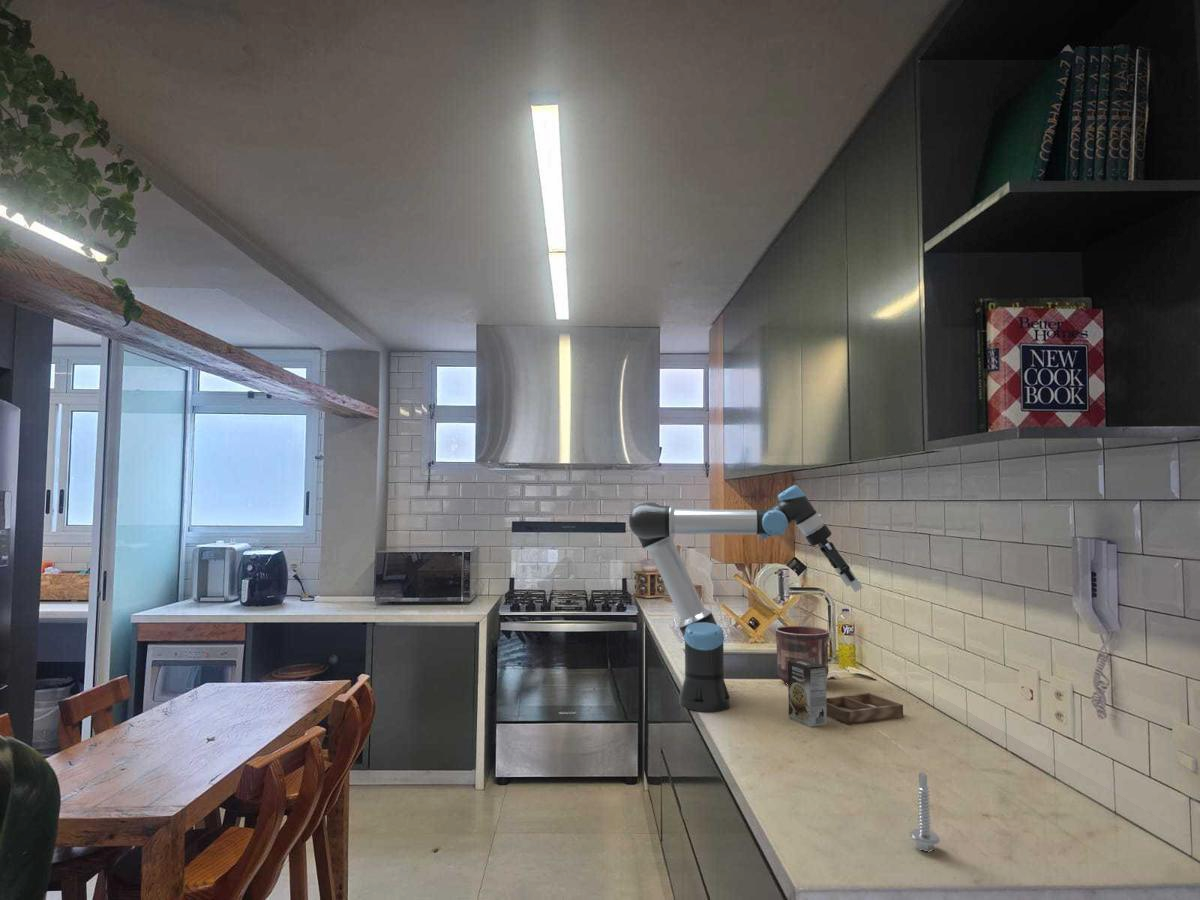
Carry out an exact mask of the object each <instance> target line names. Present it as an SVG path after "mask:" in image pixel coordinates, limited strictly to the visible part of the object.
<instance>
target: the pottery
mask: <svg viewBox="0 0 1200 900" xmlns="http://www.w3.org/2000/svg"><path fill="white" fill-rule="evenodd" d="M775 641H776V672H777V674H778V676H779V678H780V680H781V681H782V682H783V681H784V682H783V683H784V684H785V683H787V684H788V660H797V659H799V660H800V659H806V660H809V661H812V662H815V663H819V664H822V665H825V666H826V679H827V677H828V675H829V641H830V632H829V630H827V629H825V628H820V627H814V626H803V625H787V626H785V625H784V626H779V627H777V628H775Z"/></svg>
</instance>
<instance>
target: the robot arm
mask: <svg viewBox="0 0 1200 900" xmlns="http://www.w3.org/2000/svg"><path fill="white" fill-rule="evenodd" d="M777 498H778V502H776V503H775V504H774V505H772V506H771V507H770V508H767V509H690V508H689V509H687V508H686V509H683V508H682V509H681V508H679V509H675V508H674V507H673V506H671V505H660V504H658V503H656V502H643V503H640V504H637V505H635V506H634V507H633V509H632V510H631V511H630V514H629V517H628V524H629V528H630V530H631V531H632V534H634V535H635V536H636V537H637V539H638V540H639V542H640V544H641V547H642V548H643V550H645V551H648V552H649V553H650V555H651V558H652V560H653V562H654V563H655V566H656V568H657V571H658V572H659V575H660V577H661V579H662V582H663V584H664V586H665V589H666V590H667V593H668V595H669V597H670V599H671V602H672V603H673V606H674V608H675V610H676V612H677V614H678V617H679V620H680V621H679V623H678V628H679V630H680V633H681V635H682V636H683V639H684V681H683V683H682V686H681V690H680V693H679V699H678V700H679V701H678V703H679V706H681V707H683V708H685V709H687V710H690V711H697V712H710V713H711V712H721V711H725V710H727V708H728V707H729V706H730V707H731V699H730V698H731V697H730V695H729V691H728V689H727V686H726V685H727V684H726V683H725V680H724V679H725V676H724V675H725V671H724V670H725V667H724V666H725V665H724V663H725V662H724V661H725V659H724V654H725V653H724V650H725V649H724V642H725V634H724V630H723V628H722V627H721V626H720V625H718V624H717V621H716V619H715V617H714V615H713V613H712V611H711V610H709V609H707V608H705V607H704V604H703V602H702V600H701V598H700V596H699V594H698V592H697V590H696V587H695V585H694V583H693V581H692V578H691V576H690V574H689V572H688V569H687V567H686V565H685V563H684V561H683V558H682V557H681V555H680V552H679V550H678V548H677V545H676V544H675V542H674V539H675V537H676V535H682V534H683V535H685V534H686V535H689V534H690V535H758V536H759V538H760V539H761V540H766V539H768V538H770V537H772V536H774V537H775V536H781V535H782V534H784V532H785V531H786V530H787V529H788V525H789V524H791V523H792V522H794V523H795V525H796V526H797V528H798V529H799V530H800V532H801V533H802V535H803V536H805V539H806V540H807V542H808V543H809V545H810V546H811V547H816V546H819V549H820V551H821V552H822V553H823V555H824V556H825V557H826V559H827V560H828V562H829V563H830V566H831V567H832V568H833V569H835V571H836V573H837V574H838V576H839V577H840V580H842V582H843V584H845V586H846V587H847V588H848V587H849V586H850V587H851V588H852V589H853V591H854V593H857V592H858V591H860V590H861V589H864V587H863V586H862V584H861V583H860V581H859V579H858V578H857V577H856V576H855V574H854V572H853V571H852V570H851V568H850V565H848V563H847V562H846V561H845V560H844V558H843V557H842V556H841V554H840V552H839V551H838V549H837V548H836V547H835V544H834V543H833V542H831V541H829V540H828V538H830V537H831V536H832V531H831V530H830V528H829V527H828V526H827V525H826V524H824V523H825V522H824V520H823V519H822V516H823V515H822V514H821V513H818V512H817V510H816V509H815V508H814V506H813V504H812V503H811V502H810V500H809V499H808V497H807V496H806V494H805V493H804V491H802V489H801V488H800V487H799V486H798V485H791V486H789V488H786V489H785V490H783V491H782V492H781V493H779V494H778V495H777ZM730 707H729V708H730ZM729 708H728V709H729Z"/></svg>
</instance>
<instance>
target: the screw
mask: <svg viewBox="0 0 1200 900" xmlns="http://www.w3.org/2000/svg"><path fill="white" fill-rule="evenodd" d="M918 785H919V786H918V787H917V789H918V790H917V793H918V794H917V796H918V798H917V799H918V801H917V803H918V805H917V807H918V808H917V810H918V820H919V822H918V824H919V825H918V827H919V828H914V829H913V830H910V832H909V837H910V839H911V840H913V841H915V843H916V845H917V846H918V847H919V849H922V850H927V851H930V850H932V849H934V850H935V848H934V847H935V845H938V844H940V843H941V837H940V836H939V835H938V834H937V833H935V832H933V831H932V830H931V829H930V828H931V822H930V821H931V818H930V817H931V815H930V814H931V812H930V809H931V808H930V806H931V804H930V797H929V796H930V790H929V786H928V775H927V774H926V773H924V772H923V771H922V772H919V773H918ZM916 845H915V846H916ZM917 846H916V847H917ZM918 847H917V848H918ZM919 849H918V850H919Z"/></svg>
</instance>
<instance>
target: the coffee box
mask: <svg viewBox="0 0 1200 900" xmlns="http://www.w3.org/2000/svg"><path fill="white" fill-rule="evenodd" d="M787 689H788V690H787V693H788V697H787V699H788V700H787V701H788V719H790V718H791V719H790V720H792V721H795V720H796V721H795V722H797V721H798V722H797V723H799V722H800V724H802V725H804V724H805V725H804V726H806V725H807V727H809V728H814V727H818V726H819V725H820V726H826V725H827V724H828V722H827V718H828V717H827V707H826V706H827V705H826V698H827V678H826V666H825V665H822V664H819V663H815V662H812V661H809V660H806V659H800V660H799V659H797V660H788V685H787ZM825 724H826V725H825ZM813 726H814V727H813Z"/></svg>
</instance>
